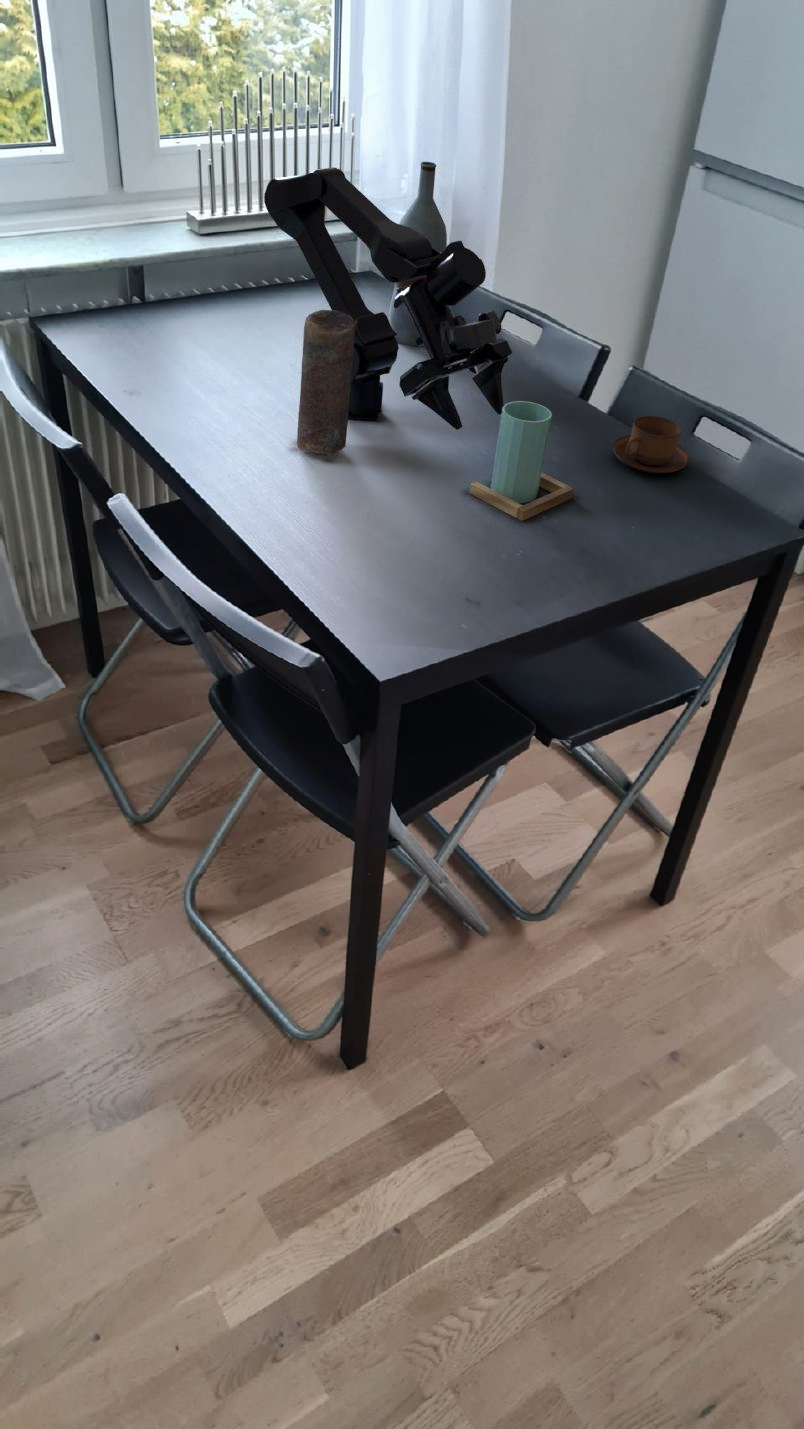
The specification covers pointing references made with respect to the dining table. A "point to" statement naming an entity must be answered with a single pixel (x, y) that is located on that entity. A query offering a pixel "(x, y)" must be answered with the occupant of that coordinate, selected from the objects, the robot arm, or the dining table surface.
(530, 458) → the glass
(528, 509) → the frame
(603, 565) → the dining table surface
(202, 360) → the dining table surface
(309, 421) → the brown textured cylinder
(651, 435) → the cup and saucer
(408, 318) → the bottle
